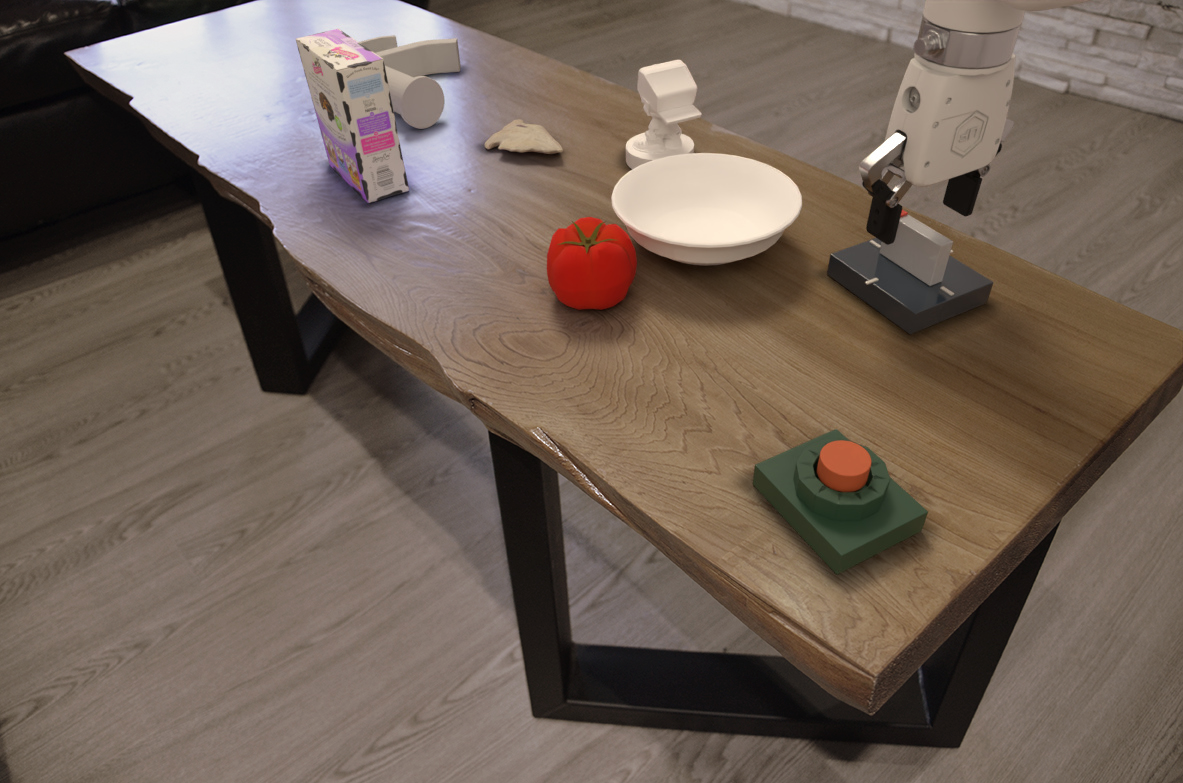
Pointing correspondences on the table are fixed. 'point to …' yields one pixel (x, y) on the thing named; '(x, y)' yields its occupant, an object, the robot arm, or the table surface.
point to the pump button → (843, 466)
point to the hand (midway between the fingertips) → (918, 223)
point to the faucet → (416, 75)
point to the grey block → (919, 250)
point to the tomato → (591, 264)
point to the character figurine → (664, 112)
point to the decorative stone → (524, 139)
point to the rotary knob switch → (907, 287)
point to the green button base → (838, 505)
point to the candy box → (354, 113)
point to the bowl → (706, 207)
